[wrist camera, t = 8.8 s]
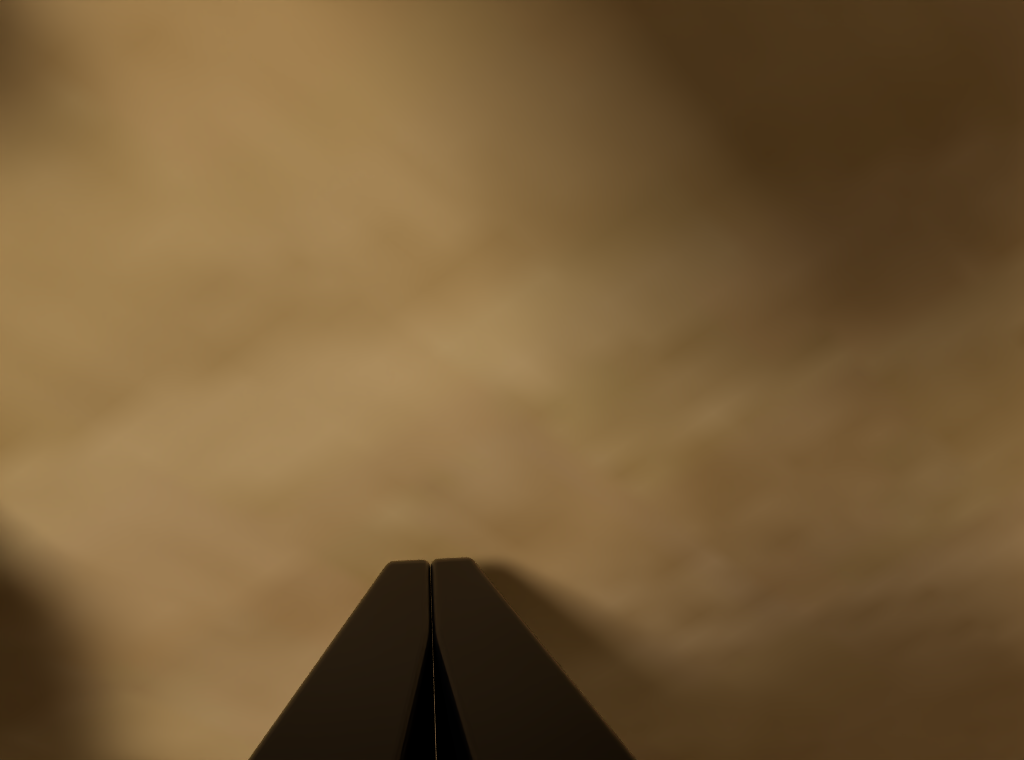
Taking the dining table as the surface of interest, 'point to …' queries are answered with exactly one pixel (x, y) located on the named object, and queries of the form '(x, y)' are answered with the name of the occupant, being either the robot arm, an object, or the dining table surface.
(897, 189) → the dining table surface
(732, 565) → the dining table surface
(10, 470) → the dining table surface
